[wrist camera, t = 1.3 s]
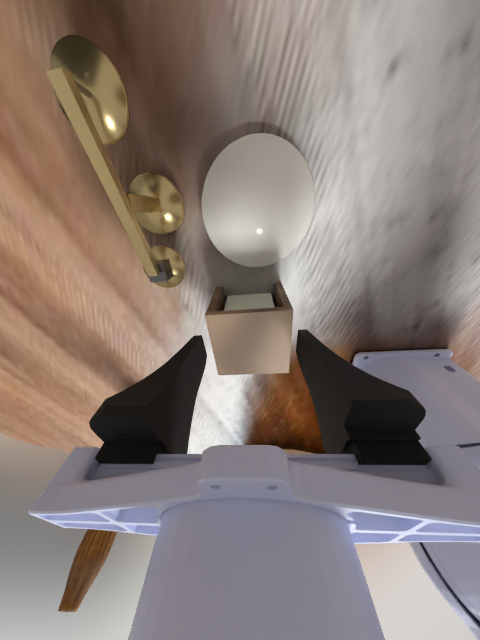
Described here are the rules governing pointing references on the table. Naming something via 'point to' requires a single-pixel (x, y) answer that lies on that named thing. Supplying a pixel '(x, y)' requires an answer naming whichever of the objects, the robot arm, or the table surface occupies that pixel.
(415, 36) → the table surface
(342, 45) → the table surface
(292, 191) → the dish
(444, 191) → the table surface
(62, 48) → the balance
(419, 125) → the table surface
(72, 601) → the hand bell
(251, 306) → the block
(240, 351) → the cover
